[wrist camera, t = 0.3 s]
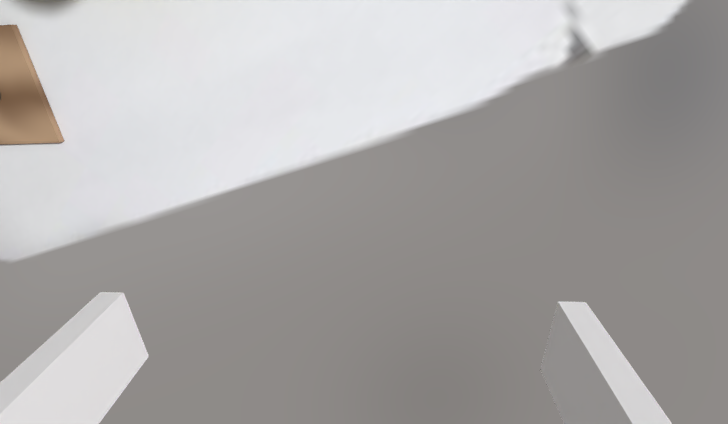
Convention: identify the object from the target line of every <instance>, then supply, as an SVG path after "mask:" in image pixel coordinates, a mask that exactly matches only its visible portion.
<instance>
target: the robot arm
mask: <svg viewBox="0 0 728 424" xmlns="http://www.w3.org/2000/svg"><path fill="white" fill-rule="evenodd" d="M147 358H148V353H147V351H146V348H145V346H144V343H143V341H142V338H141V336H140V333H139V330H138V328H137V325H136V323H135V320H134V318H133V315H132V313H131V310H130V308H129V305H128V302H127V300H126V298H125V295H124V293H123V292H100V293H99V294H98V295H97V296H95V297H94V298H93V299H92V300H91V301H90V302H89V303H88V304H87V305H85V306H84V307H83V308H82V309H81V310H80V311H79V312H78V313H77V314H76V315H74V316H73V318H71V319H70V320H69V321H68V322H67V323H66V324H65V325H64V326H62V327H61V328H60V329H59V330H58V331H57V332H56V333H55V334H53V335H52V336H51V337H50V338H49V339H48V340H47V341H46V342H45V343H43V345H41V346H40V347H39V348H38V349H37V350H36V351H35V352H33V353H32V354H31V355H30V356H29V357H28V358H27V359H26V360H25V361H24V362H23V363H21V364H20V365H19V366H18V367H17V368H16V369H15V370H14V371H12V372H11V373H10V374H9V375H8V376H7V377H6V378H5V379H4V380H3V381H1V382H0V424H99V423H100V421H101V420H102V419H103V417H104V416H105V414H106V413H107V412H108V411H109V409H110V408H111V406H112V405H113V404H114V402H115V401H116V400H117V398H118V397H119V396H120V394H121V393H122V392H123V390H124V389H125V388H126V386H127V385H128V383H129V382H130V381H131V380H132V378H133V377H134V375H135V374H136V373H137V371H138V370H139V369H140V367H141V366H142V365H143V363H144V362H145V361H146V359H147ZM540 370H541V372H542V374H543V377H544V379H545V381H546V383H547V386H548V388H549V390H550V393H551V395H552V397H553V399H554V402H555V404H556V406H557V408H558V411H559V413H560V415H561V418H562V420H563V422H564V424H672V423H671V422H670V420H669V419H668V417H667V416H666V414H665V413H664V412H663V411H662V409H661V408H660V406H659V405H658V403H657V402H656V401H655V399H654V398H653V396H652V395H651V393H650V392H649V391H648V389H647V388H646V386H645V385H644V383H643V382H642V381H641V379H640V378H639V376H638V375H637V374H636V372H635V371H634V369H633V368H632V367H631V365H630V364H629V362H628V361H627V360H626V358H625V357H624V355H623V354H622V353H621V351H620V350H619V348H618V347H617V346H616V344H615V343H614V341H613V340H612V338H611V337H610V336H609V334H608V333H607V331H606V330H605V329H604V327H603V326H602V324H601V323H600V322H599V320H598V319H597V317H596V316H595V315H594V313H593V312H592V310H591V309H590V307H589V306H588V305H587V303H586V302H558V303H557V307H556V312H555V315H554V319H553V323H552V327H551V331H550V334H549V338H548V342H547V346H546V350H545V354H544V358H543V362H542V366H541V369H540Z"/></svg>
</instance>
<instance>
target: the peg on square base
mask: <svg viewBox="0 0 728 424" xmlns="http://www.w3.org/2000/svg"><path fill="white" fill-rule="evenodd" d="M63 141H64V139H63V137H62V135H61V132H60V130H59V127H58V125H57V122H56V120H55V117H54V115H53V113H52V110H51V108H50V105H49V103H48V100H47V98H46V95H45V93H44V91H43V88H42V86H41V83H40V81H39V78H38V76H37V73H36V71H35V69H34V66H33V64H32V61H31V59H30V56H29V54H28V51H27V49H26V47H25V44H24V42H23V39H22V37H21V34H20V32H19V29H18V27H17V25H0V144H29V143H60V142H63Z"/></svg>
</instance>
